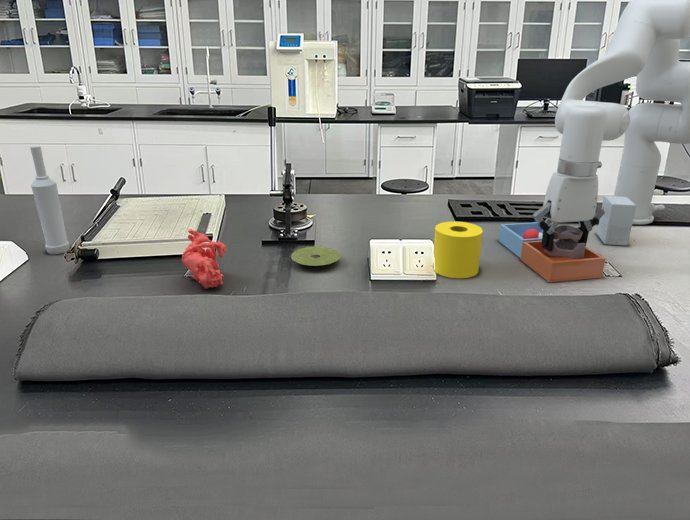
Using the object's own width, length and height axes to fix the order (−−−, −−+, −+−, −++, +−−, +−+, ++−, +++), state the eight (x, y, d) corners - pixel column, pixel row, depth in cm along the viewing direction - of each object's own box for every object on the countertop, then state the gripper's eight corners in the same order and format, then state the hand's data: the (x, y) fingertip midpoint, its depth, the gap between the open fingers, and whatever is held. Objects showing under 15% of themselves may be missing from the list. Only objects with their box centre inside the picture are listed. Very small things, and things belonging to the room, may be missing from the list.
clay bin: (569, 256, 125) (572, 238, 123) (601, 277, 114) (605, 258, 112) (520, 259, 123) (522, 241, 121) (548, 282, 112) (552, 262, 110)
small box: (628, 246, 131) (637, 205, 127) (603, 244, 132) (612, 203, 128) (619, 235, 138) (627, 196, 134) (596, 234, 139) (603, 195, 135)
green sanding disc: (318, 250, 128) (317, 242, 128) (350, 263, 121) (351, 255, 120) (281, 262, 121) (280, 255, 120) (313, 277, 114) (313, 269, 113)
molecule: (520, 247, 129) (523, 231, 127) (522, 241, 133) (525, 225, 131) (542, 250, 127) (545, 233, 125) (543, 243, 131) (546, 227, 129)
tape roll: (451, 281, 112) (454, 240, 108) (423, 265, 120) (426, 225, 116) (487, 272, 116) (492, 232, 112) (458, 257, 124) (462, 219, 121)
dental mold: (587, 250, 118) (591, 229, 116) (581, 260, 113) (585, 239, 111) (549, 243, 122) (553, 222, 120) (542, 253, 117) (546, 232, 115)
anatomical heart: (212, 302, 106) (191, 254, 100) (182, 284, 114) (162, 238, 108) (246, 279, 111) (229, 231, 105) (216, 263, 119) (198, 218, 113)
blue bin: (540, 238, 136) (542, 221, 134) (564, 254, 126) (568, 237, 124) (498, 241, 134) (500, 224, 132) (520, 258, 124) (522, 240, 122)
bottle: (75, 248, 129) (53, 145, 119) (56, 256, 125) (32, 149, 115) (60, 245, 131) (37, 143, 121) (41, 252, 127) (16, 147, 117)
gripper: (603, 162, 115) (588, 239, 121) (529, 165, 112) (518, 244, 118) (626, 170, 108) (609, 251, 115) (548, 174, 105) (535, 257, 112)
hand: (563, 247), depth 117 cm, fingers closed on dental mold, 7 cm apart
